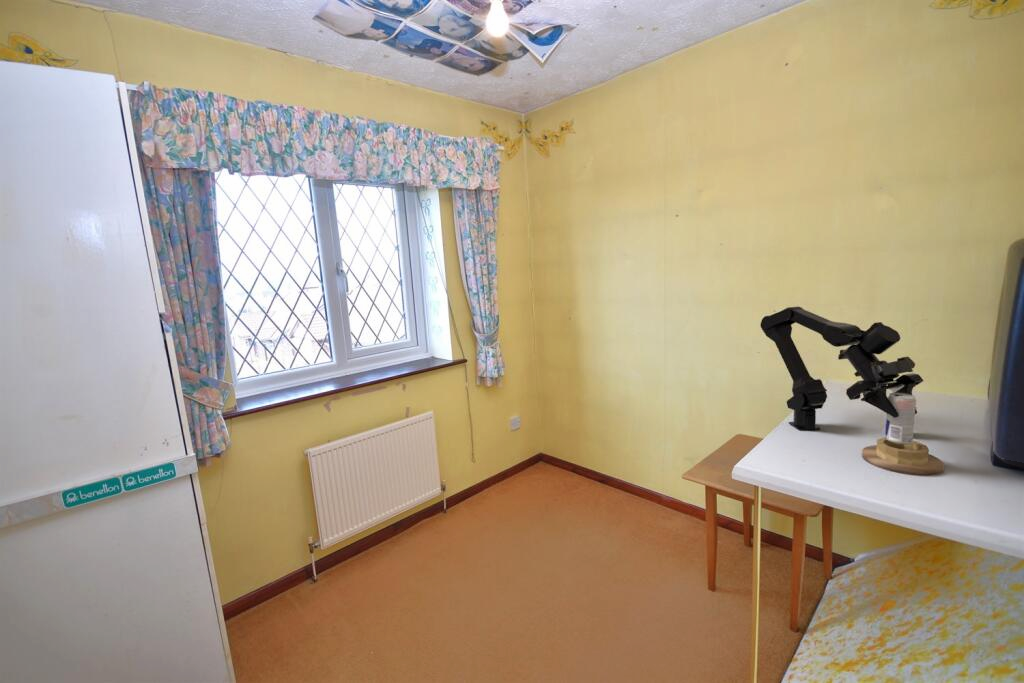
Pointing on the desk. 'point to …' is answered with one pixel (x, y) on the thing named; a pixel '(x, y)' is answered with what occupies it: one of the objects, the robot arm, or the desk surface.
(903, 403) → the energy drink
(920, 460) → the can stand
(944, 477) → the desk surface
